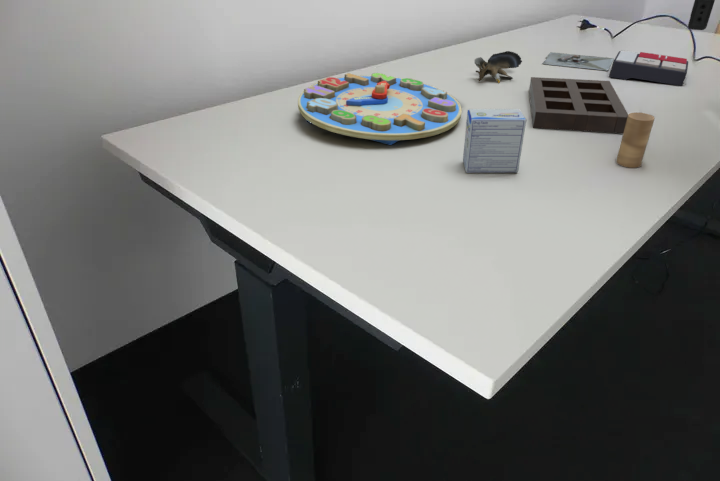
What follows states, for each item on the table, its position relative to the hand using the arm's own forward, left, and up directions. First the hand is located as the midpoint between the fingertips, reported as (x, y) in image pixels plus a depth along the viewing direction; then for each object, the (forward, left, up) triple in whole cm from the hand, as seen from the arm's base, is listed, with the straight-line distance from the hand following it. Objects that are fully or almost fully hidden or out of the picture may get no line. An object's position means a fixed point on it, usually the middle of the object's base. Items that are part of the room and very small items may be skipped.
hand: (697, 23), depth 76 cm
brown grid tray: (+11, -20, -20) cm, 30 cm away
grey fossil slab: (+11, -58, -20) cm, 62 cm away
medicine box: (+26, +10, -20) cm, 34 cm away
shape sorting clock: (+47, -9, -20) cm, 52 cm away
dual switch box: (-8, -48, -20) cm, 52 cm away
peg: (+5, +4, -20) cm, 21 cm away
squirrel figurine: (+26, -38, -20) cm, 50 cm away
